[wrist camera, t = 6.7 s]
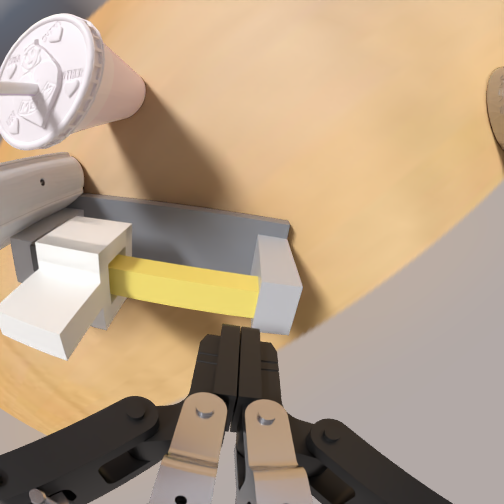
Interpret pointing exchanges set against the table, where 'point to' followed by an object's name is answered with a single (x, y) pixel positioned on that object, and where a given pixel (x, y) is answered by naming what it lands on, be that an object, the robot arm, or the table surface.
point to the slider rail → (189, 258)
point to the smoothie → (63, 83)
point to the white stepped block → (67, 286)
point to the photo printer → (36, 190)
